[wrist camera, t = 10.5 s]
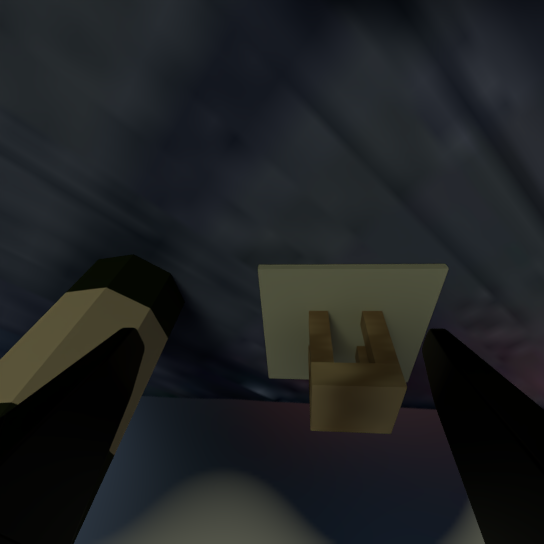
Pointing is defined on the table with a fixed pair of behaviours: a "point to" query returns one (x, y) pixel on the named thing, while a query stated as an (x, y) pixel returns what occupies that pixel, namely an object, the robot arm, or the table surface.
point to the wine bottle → (95, 333)
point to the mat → (345, 309)
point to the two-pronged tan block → (354, 379)
